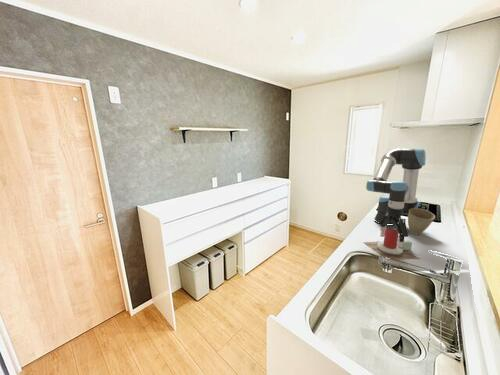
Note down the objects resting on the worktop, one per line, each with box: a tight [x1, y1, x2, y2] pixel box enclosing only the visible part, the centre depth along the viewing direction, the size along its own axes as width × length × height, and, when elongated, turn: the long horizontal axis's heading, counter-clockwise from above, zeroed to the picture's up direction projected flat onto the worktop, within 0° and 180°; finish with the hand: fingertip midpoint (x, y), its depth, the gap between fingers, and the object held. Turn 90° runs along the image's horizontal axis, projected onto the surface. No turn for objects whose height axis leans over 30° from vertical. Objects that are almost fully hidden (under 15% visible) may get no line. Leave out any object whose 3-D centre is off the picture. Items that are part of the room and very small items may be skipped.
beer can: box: [383, 226, 399, 249], centre depth 122 cm, size 7×7×12 cm
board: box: [362, 241, 421, 261], centre depth 123 cm, size 22×20×7 cm
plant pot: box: [407, 207, 436, 235], centre depth 150 cm, size 15×15×16 cm
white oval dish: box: [377, 240, 413, 255], centre depth 124 cm, size 20×13×5 cm, turn 94°
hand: (390, 241), depth 123 cm, fingers open, 13 cm apart
